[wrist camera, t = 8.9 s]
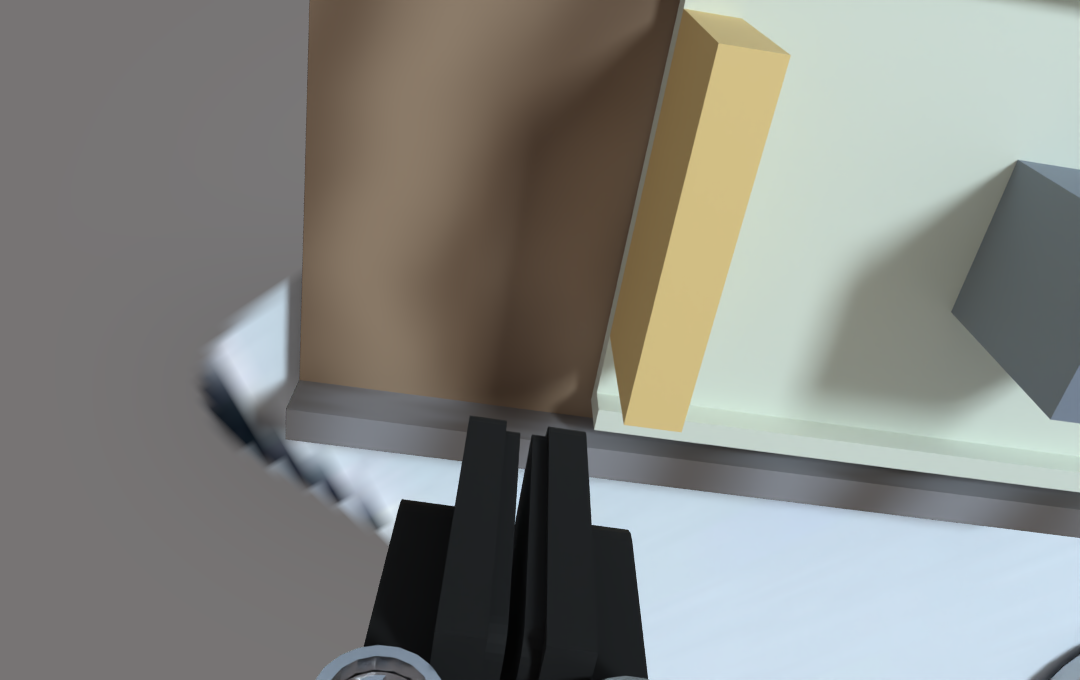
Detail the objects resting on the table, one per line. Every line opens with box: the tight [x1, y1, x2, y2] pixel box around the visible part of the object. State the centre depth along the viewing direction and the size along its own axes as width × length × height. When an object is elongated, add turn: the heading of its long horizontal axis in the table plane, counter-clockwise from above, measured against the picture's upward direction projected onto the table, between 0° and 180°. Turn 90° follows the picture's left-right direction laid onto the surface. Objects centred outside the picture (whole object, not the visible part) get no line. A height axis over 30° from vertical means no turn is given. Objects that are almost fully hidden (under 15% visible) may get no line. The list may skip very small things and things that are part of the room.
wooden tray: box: [591, 0, 1080, 492], centre depth 24 cm, size 20×16×6 cm
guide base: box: [286, 0, 1080, 538], centre depth 26 cm, size 28×20×3 cm
